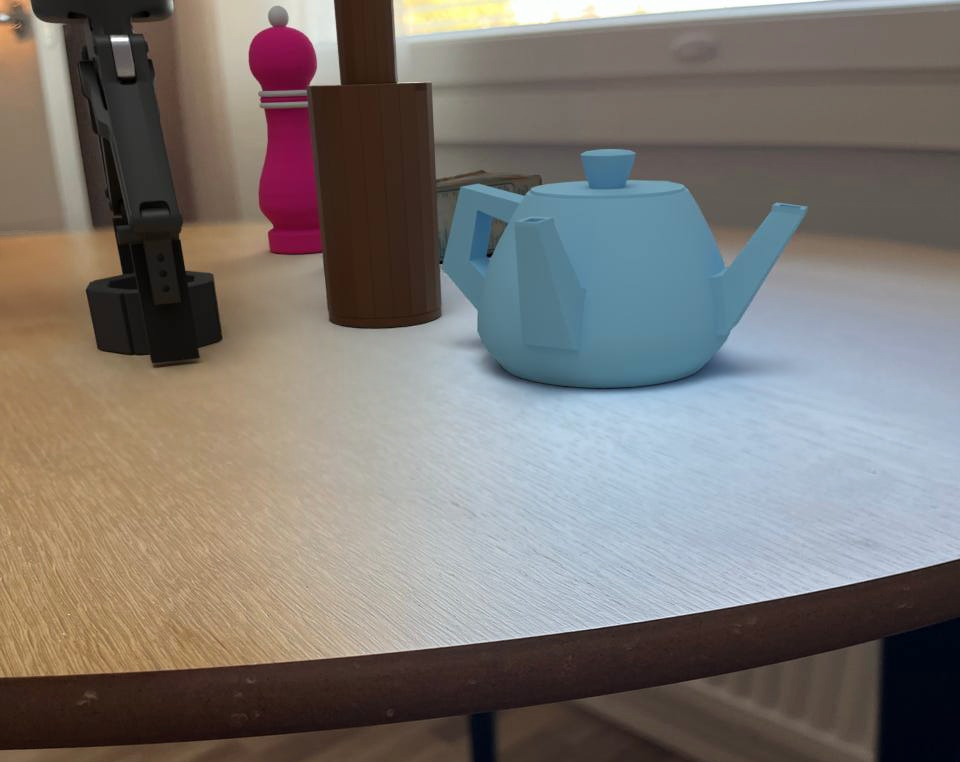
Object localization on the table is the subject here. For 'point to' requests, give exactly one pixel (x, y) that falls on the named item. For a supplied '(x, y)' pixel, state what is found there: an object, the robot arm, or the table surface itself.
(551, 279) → the teapot
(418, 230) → the bottle
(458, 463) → the table surface
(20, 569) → the table surface
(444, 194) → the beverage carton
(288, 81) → the pepper mill
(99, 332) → the black octagonal ring
